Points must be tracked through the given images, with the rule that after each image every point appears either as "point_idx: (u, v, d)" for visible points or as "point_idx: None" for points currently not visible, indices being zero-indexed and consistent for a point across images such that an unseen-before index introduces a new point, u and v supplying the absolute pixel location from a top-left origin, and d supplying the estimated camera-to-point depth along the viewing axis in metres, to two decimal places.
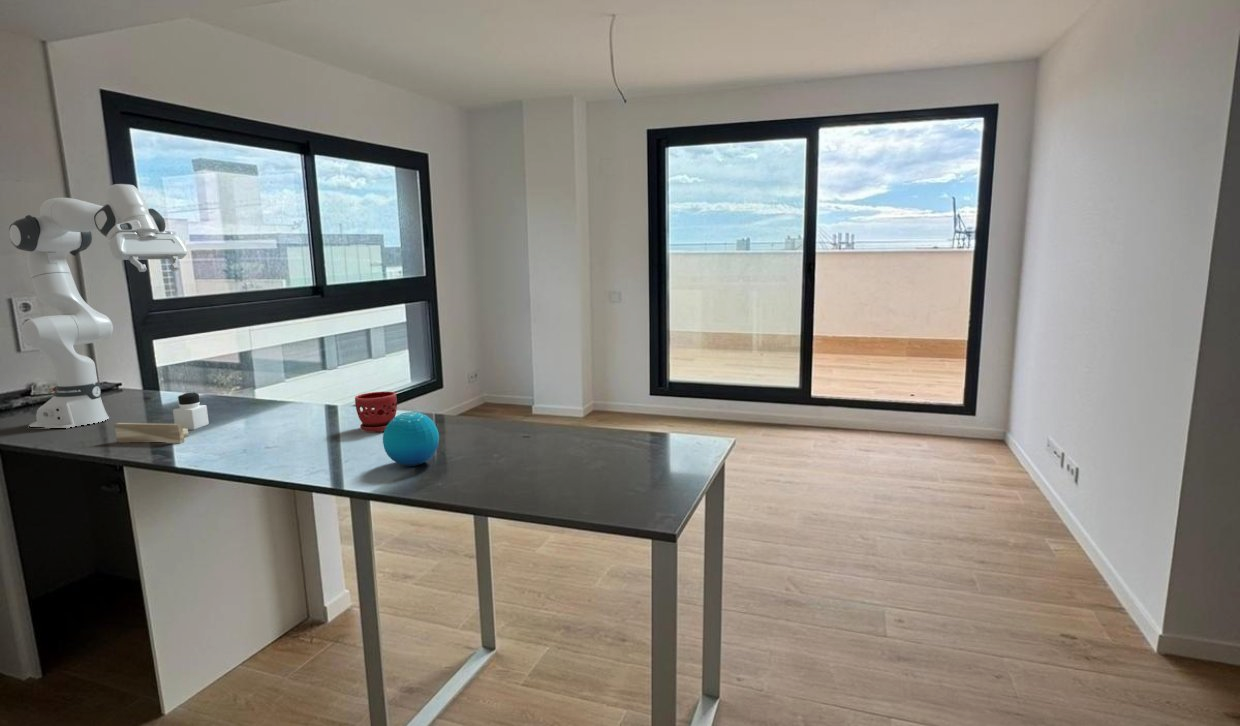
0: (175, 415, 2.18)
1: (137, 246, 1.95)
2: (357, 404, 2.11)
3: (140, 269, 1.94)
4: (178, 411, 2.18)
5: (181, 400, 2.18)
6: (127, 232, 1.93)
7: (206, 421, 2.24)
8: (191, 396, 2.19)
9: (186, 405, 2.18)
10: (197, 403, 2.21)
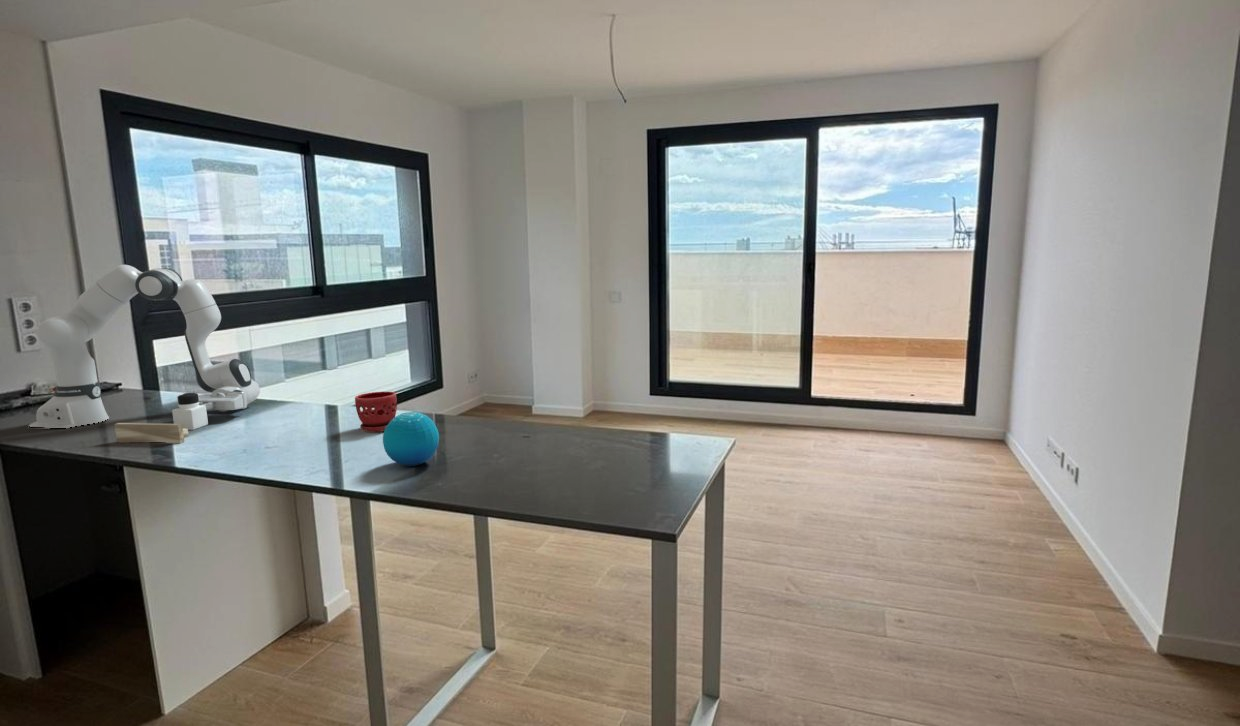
0: (174, 415, 2.18)
1: None
2: (357, 404, 2.11)
3: None
4: (177, 411, 2.18)
5: (180, 401, 2.17)
6: None
7: (205, 421, 2.24)
8: (190, 396, 2.18)
9: (185, 405, 2.18)
10: (196, 403, 2.20)
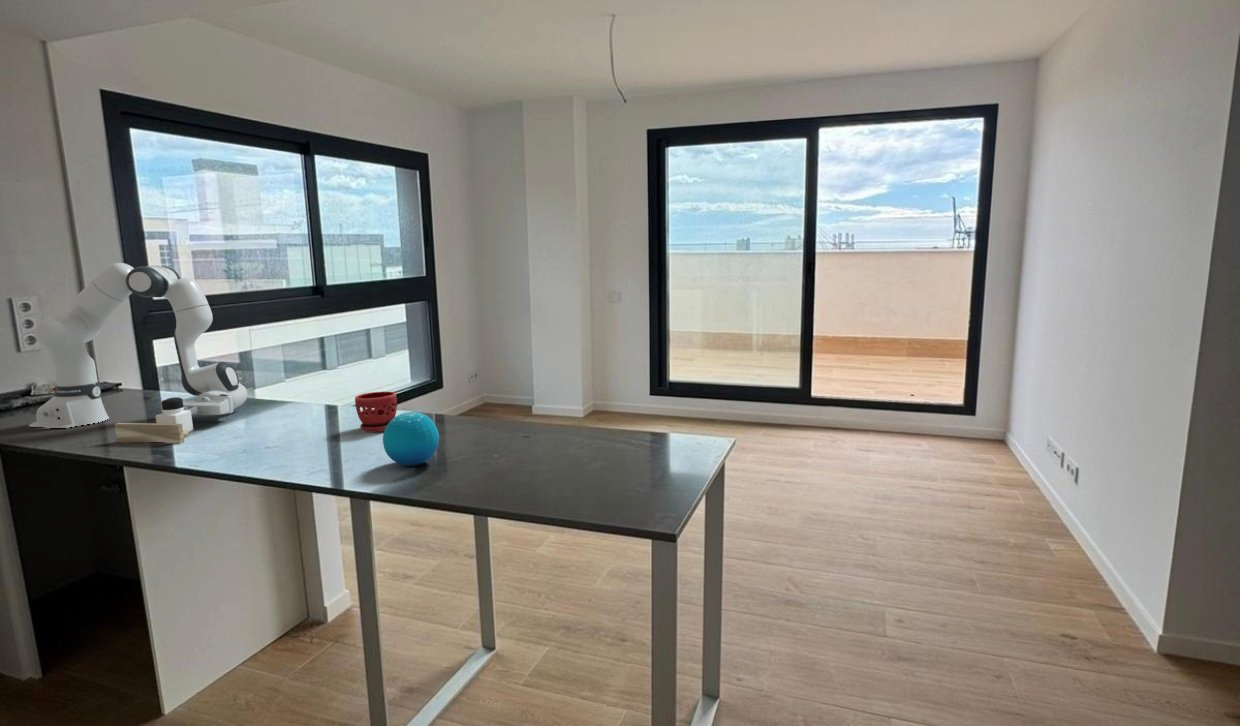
0: (158, 421, 2.10)
1: None
2: (357, 404, 2.11)
3: None
4: (161, 417, 2.10)
5: (164, 406, 2.10)
6: None
7: (190, 427, 2.16)
8: (175, 401, 2.11)
9: (169, 410, 2.10)
10: (181, 408, 2.13)
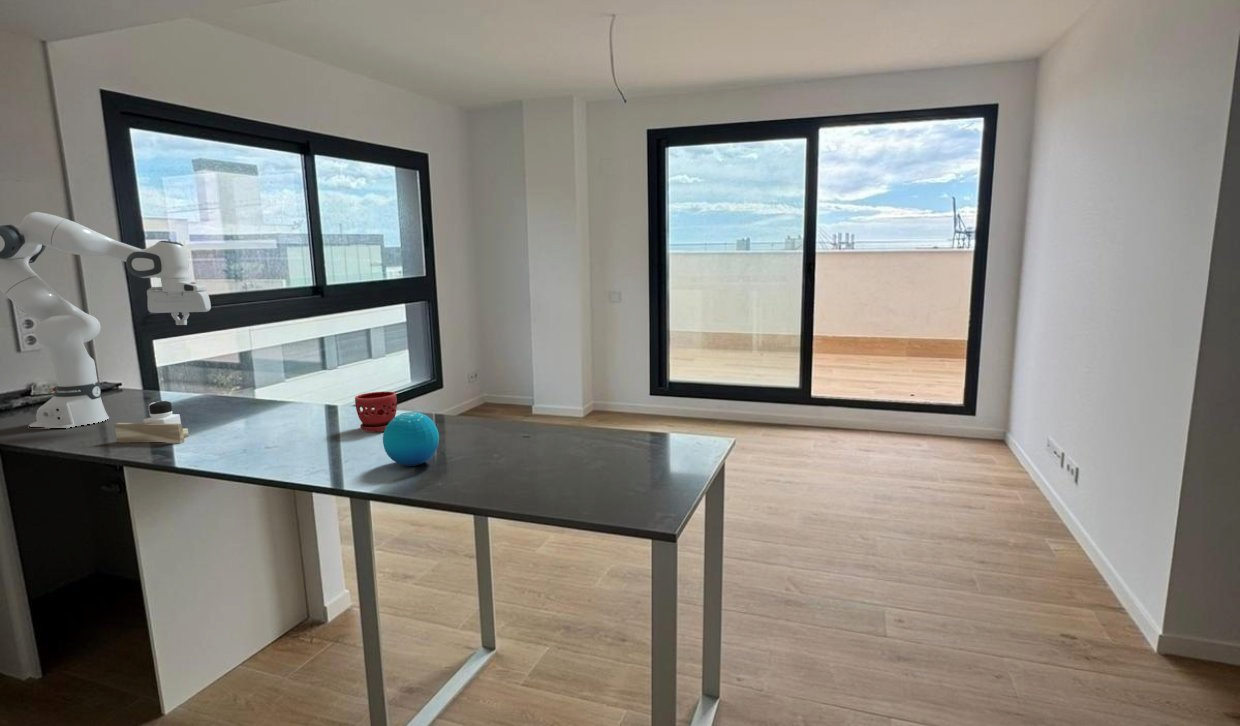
0: None
1: None
2: (357, 404, 2.11)
3: (185, 323, 2.33)
4: (149, 421, 2.05)
5: (151, 410, 2.05)
6: None
7: None
8: (163, 405, 2.06)
9: (157, 414, 2.05)
10: (169, 412, 2.08)
